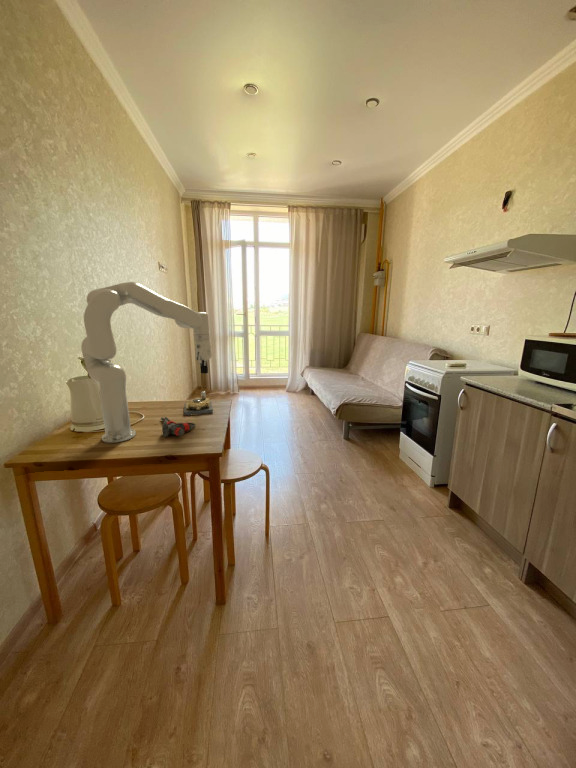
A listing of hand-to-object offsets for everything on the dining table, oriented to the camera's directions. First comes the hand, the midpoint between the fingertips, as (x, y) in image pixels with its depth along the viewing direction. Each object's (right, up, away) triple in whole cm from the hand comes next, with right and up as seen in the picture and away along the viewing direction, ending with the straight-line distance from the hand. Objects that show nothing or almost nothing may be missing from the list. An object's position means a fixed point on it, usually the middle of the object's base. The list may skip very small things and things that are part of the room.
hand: (204, 373), depth 157 cm
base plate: (-5, -19, +5) cm, 21 cm away
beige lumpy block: (-5, -17, +5) cm, 19 cm away
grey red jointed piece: (-8, -26, -18) cm, 33 cm away
